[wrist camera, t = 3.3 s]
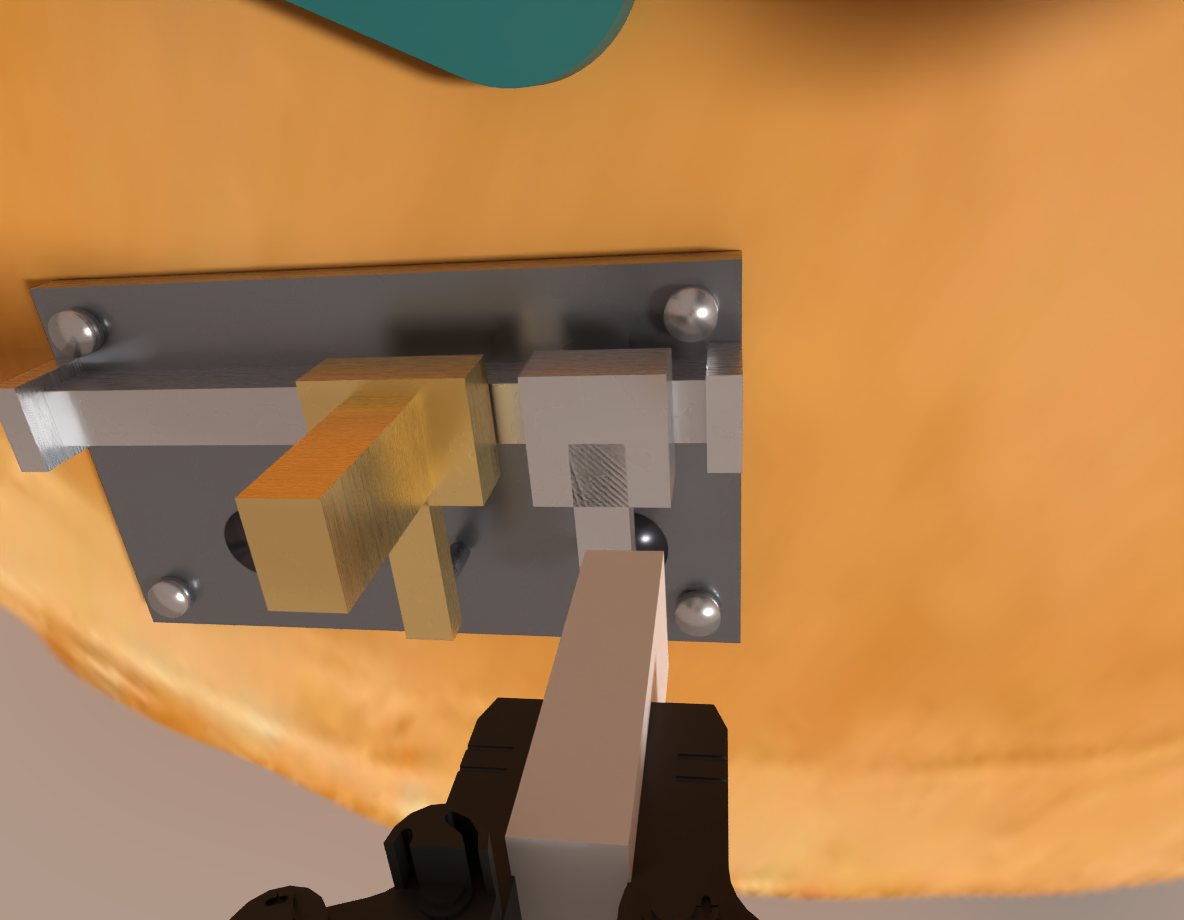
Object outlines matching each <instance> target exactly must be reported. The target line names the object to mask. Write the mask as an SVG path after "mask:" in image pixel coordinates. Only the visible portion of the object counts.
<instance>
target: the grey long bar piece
mask: <svg viewBox="0 0 1184 920" xmlns="http://www.w3.org/2000/svg"><path fill="white" fill-rule="evenodd" d="M485 365H486V373H487V380H488V387H489V394H490V402H491V409H492V416H493V423H494V431H495V438H496V444H526V450H527V459H528V467H529V475H530V484H531V492H532V500H533V507H574V515H575V526H576V536H577V546H578V557H579V567H580V568H581V565H582V561H583V558H584V554H585V551H586V550H621V551H637V547H636V541H635V525H634V508H633V507H642V508H671V502H672V495H673V488H674V480H675V473H676V472H675V443H707V473H742V405H743V371H742V341H733V342H708V355H707V358H672V356H671V348H644V349H603V350H561V351H535V352H534V353H533V355H532V356H531V358H530V359H529V361H528V362H485ZM314 367H315V366H302V367H256V368H211V369H165V370H120V371H84V368H83V365H82V363H81V360H80V358H55V359H53V360H51V361H48V362H46V363H44V364H42V365H39V366H37V367H35V368H33V369H30V370H28V371H26V372H24V373H22V374H19V375H17V376H15V377H13V378H10V379H8V380H6V381H4V382H1V383H0V421H1V423H2V426H3V428H4V430H5V433H6V435H7V438H8V440H9V442H10V445H11V447H12V450H13V452H14V454H15V457H16V459H17V461H18V464H19V466H20V469H21V471H22V472H48V471H50V470H52V469H53V468H55V467H57V466H58V465H60V464H61V463H63V462H65V461H66V460H68V459H70V458H71V457H73V456H75V455H76V454H78V453H80V452H81V451H83V450H84V449H86V448H88V447H89V446H157V445H295V444H296V443H297V442H298V441H300V440H301V439H302V438H303V437H304V436H305V435H306V434H307V433H308V431H307V427H306V423H305V419H304V414H303V410H302V406H301V402H300V398H299V394H298V390H297V386H296V382H295V381H296V380H298V379H299V378H300V377H302V376H303V375H304V374H306V373H307V372H308V371H310V370H311V369H312V368H314Z"/></svg>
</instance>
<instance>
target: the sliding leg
mask: <svg viewBox="0 0 1184 920" xmlns="http://www.w3.org/2000/svg"><path fill="white" fill-rule="evenodd" d="M295 382H296V386H297V390H298V394H299V398H300V402H301V406H302V410H303V414H304V419H305V423H306V427H307V431H308V433H307V434H306V435H305V436H304V437H303V438H302V439H301V440H300V441H298V442H297V443H296V444H295V445H294V446H293V447H292V448H291V449H289V450H288V451H287V452H286V453H285V454H284V455H283V456H282V457H280V458H279V459H278V460H277V461H276V462H275V463H274V464H273V465H271V466H270V467H269V468H268V469H267V470H266V471H265V472H264V473H262V474H261V475H260V476H259V477H258V478H257V479H256V480H255V481H253V482H252V483H251V484H250V485H249V486H248V487H247V488H246V489H245V490H243V491H242V492H241V493H240V494H239V495H238V496H237V497H236V498H235V501H236V504H237V508H238V511H239V514H240V518H241V521H242V525H243V528H244V531H245V535H246V538H247V541H248V545H249V548H250V551H251V555H252V558H253V561H254V565H255V568H256V572H257V575H258V578H259V582H260V585H261V588H262V592H263V595H264V598H265V602H266V605H267V608H268V611H287V612H318V613H349V611H350V610H351V609H352V607H353V606H354V604H355V603H356V601H357V600H358V598H359V597H360V595H361V594H362V593H363V591H364V590H365V588H366V587H367V585H368V584H369V582H370V581H371V579H372V578H373V577H374V575H375V574H376V572H377V571H378V569H379V568H380V566H381V565H382V563H383V562H384V561H385V559H386V558H387V556H388V555H389V559H390V563H391V568H392V573H393V577H394V582H395V587H396V591H397V596H398V601H399V605H400V610H401V615H402V619H403V624H404V629H405V634H406V638H407V639H422V640H449V641H454V638H455V636H456V634H457V632H458V630H459V628H460V626H461V624H462V617H461V611H460V605H459V600H458V594H457V588H456V581H457V579H458V578H459V576H460V574H461V572H462V570H463V568H464V566H465V564H466V562H467V560H468V558H469V557H470V553H471V552H470V549H469V547H468V546H467V545H466V544H464V543H462V542H454V543H452V544H451V545H450V547H449V542H448V537H447V531H446V525H445V520H444V514H443V508H442V506H484V505H485V503H486V501H487V499H488V497H489V496H490V494H491V492H492V490H493V488H494V486H495V485H496V483H497V481H498V479H499V477H500V476H501V474H500V467H499V460H498V453H497V445H496V438H495V431H494V423H493V416H492V409H491V402H490V394H489V387H488V380H487V373H486V365H485V358H484V355H441V356H399V357H357V358H326V359H325V360H323V361H322V362H321V363H319V364H318V365H317V366H315V367H314V368H312V369H311V370H310V371H308V372H307V373H306V374H304V375H303V376H302V377H300V378H299V379H298V380H296V381H295Z"/></svg>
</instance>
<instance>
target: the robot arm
mask: <svg viewBox="0 0 1184 920" xmlns="http://www.w3.org/2000/svg"><path fill="white" fill-rule="evenodd" d="M668 667H669V664H668V640H667V617H666V593H665V570H664V551H621V550H586V551H585V554H584V558H583V561H582V565H581V568H580V572H579V576H578V579H577V583H576V586H575V590H574V593H573V597H572V600H571V604H570V608H569V611H568V615H567V618H566V622H565V625H564V629H563V632H562V636H561V640H560V643H559V647H558V650H557V654H556V657H555V661H554V664H553V668H552V671H551V675H550V679H549V682H548V686H547V689H546V693H545V696H544V700H543V699H519V698H497V699H496V700H495V701H494V702H493V703H492V704H491V706H490V707H489V708H488V709H487V710H486V711H485V712H484V713H483V714H482V715H481V716H480V717H479V718H478V719H477V722H476V725H475V727H474V730H473V733H472V735H471V738H470V741H469V743H468V750H466V751H465V754H464V757H463V759H462V762H461V765H460V771H458V773H457V775H456V778H455V781H454V784H453V786H452V789H451V792H450V794H449V797H448V800H447V802H446V804H437V805H430V806H427V807H425V808H423V809H420V810H418V811H415V812H413V813H411V814H410V815H408V816H407V817H406V818H405V819H403V820H402V821H401V822H400V823H398V824H397V825H396V826H395V827H394V828H393V830H392V831H391V833H390V834H389V836H388V837H387V839H386V840H385V842H384V846H385V851H386V854H387V859H388V862H389V866H390V870H391V874H392V878H393V882H394V885H395V887H393V888H391V889H389V890H387V891H386V892H383V893H380V894H377V895H374V896H371V897H368V898H364V899H360V900H355V901H351V902H347V903H342V904H338V905H334V906H329V907H326V906H325V904H324V902H323V900H322V897H321V896H319V895H318V894H316V893H315V892H313V891H312V890H311V889H309V888H305V887H296V886H286V887H283V888H278V889H273V890H269V891H267V892H266V893H264V894H262V895H260V896H258V897H256V898H254V899H253V900H251V901H249V902H248V903H247V904H246V905H245V906H243V907H242V908H241V909H240V910H239V911H238V912H237V913H236V914H235V915H234V916H233V917H232V918H231V919H230V920H759V919H758V918H756V917H755V916H754V915H753V914H752V913H751V912H749V911H748V910H747V909H746V908H745V906H744V905H743V904H742V902H741V901H740V900H739V898H738V897H737V895H736V893H735V891H734V888H733V886H732V884H731V881H730V874H729V862H728V729H727V727H726V725H725V724H724V722H723V720H722V718H721V716H720V715H719V713H718V711H717V709H716V707H715V706H714V705H710V704H686V703H665V700H666V689H667V678H668Z"/></svg>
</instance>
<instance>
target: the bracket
mask: <svg viewBox="0 0 1184 920" xmlns="http://www.w3.org/2000/svg"><path fill="white" fill-rule="evenodd" d="M285 1H288V2H290V3H292V4H295V5H297V6H299V7H301V8H304V9H306V10H308V11H311V12H313V13H315V14H317V15H320V16H322V17H324V18H327V19H329V20H331V21H333V22H336V23H338V24H340V25H343V26H345V27H347V28H349V29H352V30H354V31H356V32H359V33H361V34H363V35H365V36H368V37H370V38H372V39H375V40H377V41H379V42H381V43H384V44H386V45H388V46H391V47H393V48H395V49H397V50H400V51H402V52H404V53H407V54H409V55H411V56H413V57H416V58H418V59H420V60H423V61H425V62H427V63H429V64H432V65H434V66H436V67H438V68H441V69H443V70H445V71H448V72H450V73H452V74H454V75H457V76H459V77H461V78H464V79H466V80H469V81H472V82H474V83H477V84H481V85H485V86H489V87H497V88H522V87H530V86H537V85H544V84H548V83H552V82H556V81H559V80H562V79H564V78H567V77H569V76H571V75H573V74H575V73H577V72H579V71H580V70H582V69H583V68H585V67H586V66H588V65H589V64H591V63H592V62H593V61H594V60H595V59H596V58H597V57H599V56H600V55H601V54H602V53H603V52H604V51H605V49H606V48H607V47H608V46H609V45H610V44H611V43H612V41H613V40H614V39H615V37H616V36H617V35H618V33H619V31H620V30H621V28H622V26H623V25H624V23H625V21H626V19H627V17H628V15H629V13H630V11H631V9H632V6H633V3H634V1H635V0H285Z"/></svg>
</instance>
